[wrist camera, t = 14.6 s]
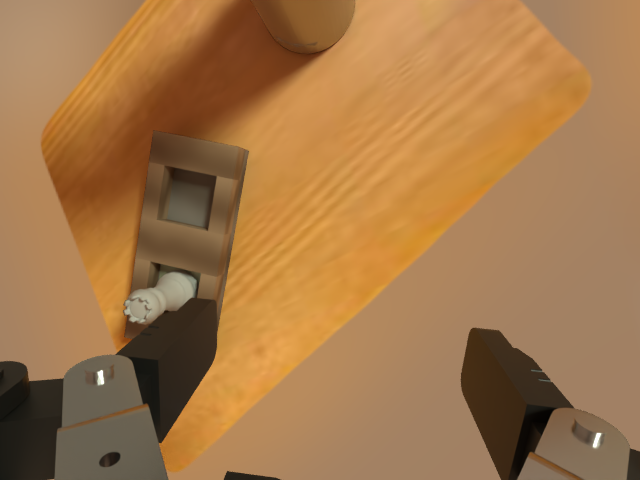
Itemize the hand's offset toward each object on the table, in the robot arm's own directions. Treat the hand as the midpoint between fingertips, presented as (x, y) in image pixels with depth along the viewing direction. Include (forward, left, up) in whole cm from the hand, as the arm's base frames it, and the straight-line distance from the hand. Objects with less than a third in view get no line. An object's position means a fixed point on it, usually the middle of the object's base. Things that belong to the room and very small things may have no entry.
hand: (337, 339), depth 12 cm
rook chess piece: (+9, -18, -26) cm, 33 cm away
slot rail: (+4, -18, -27) cm, 33 cm away
